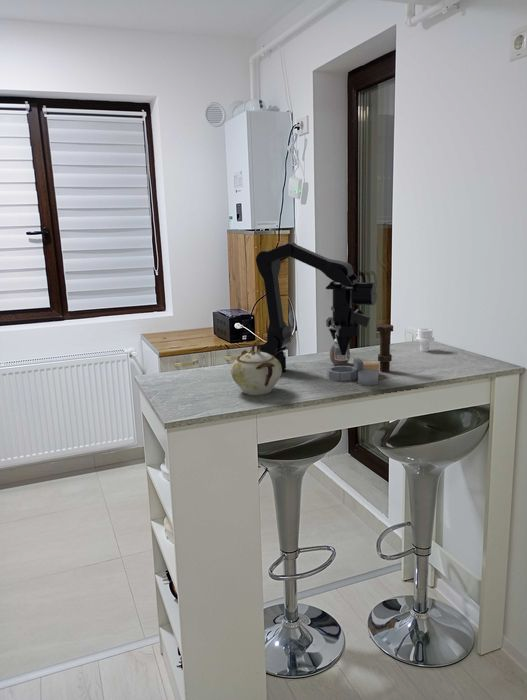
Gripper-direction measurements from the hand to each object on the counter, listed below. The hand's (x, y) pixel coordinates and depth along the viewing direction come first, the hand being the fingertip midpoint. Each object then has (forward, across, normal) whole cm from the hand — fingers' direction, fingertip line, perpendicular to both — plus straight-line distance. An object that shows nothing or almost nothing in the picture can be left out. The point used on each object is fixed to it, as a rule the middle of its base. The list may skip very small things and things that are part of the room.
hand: (341, 353), depth 185 cm
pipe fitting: (+8, +29, -38) cm, 49 cm away
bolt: (+8, +4, -15) cm, 18 cm away
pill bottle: (+2, 0, 0) cm, 2 cm away
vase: (+8, +16, -3) cm, 18 cm away
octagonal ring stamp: (+8, 0, -4) cm, 8 cm away
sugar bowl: (+8, -10, +28) cm, 31 cm away
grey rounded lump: (+8, -8, -6) cm, 13 cm away
